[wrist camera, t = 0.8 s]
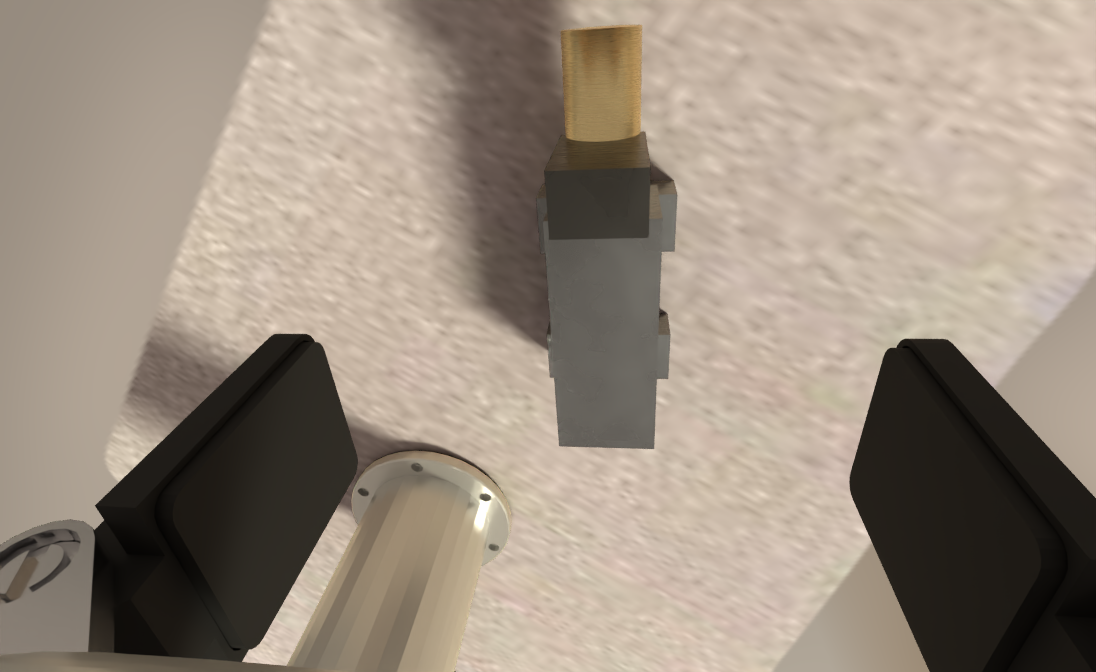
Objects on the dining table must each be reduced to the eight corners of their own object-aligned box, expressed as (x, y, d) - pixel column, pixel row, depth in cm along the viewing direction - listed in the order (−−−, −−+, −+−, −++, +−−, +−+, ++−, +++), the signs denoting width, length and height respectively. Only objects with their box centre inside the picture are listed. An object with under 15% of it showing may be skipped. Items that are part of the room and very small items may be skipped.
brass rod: (639, 380, 33) (642, 475, 26) (576, 379, 33) (564, 472, 27) (645, 23, 24) (654, 32, 17) (559, 29, 24) (535, 40, 18)
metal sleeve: (664, 369, 36) (673, 449, 30) (555, 368, 37) (540, 445, 31) (674, 170, 30) (687, 217, 23) (541, 175, 31) (519, 222, 24)
